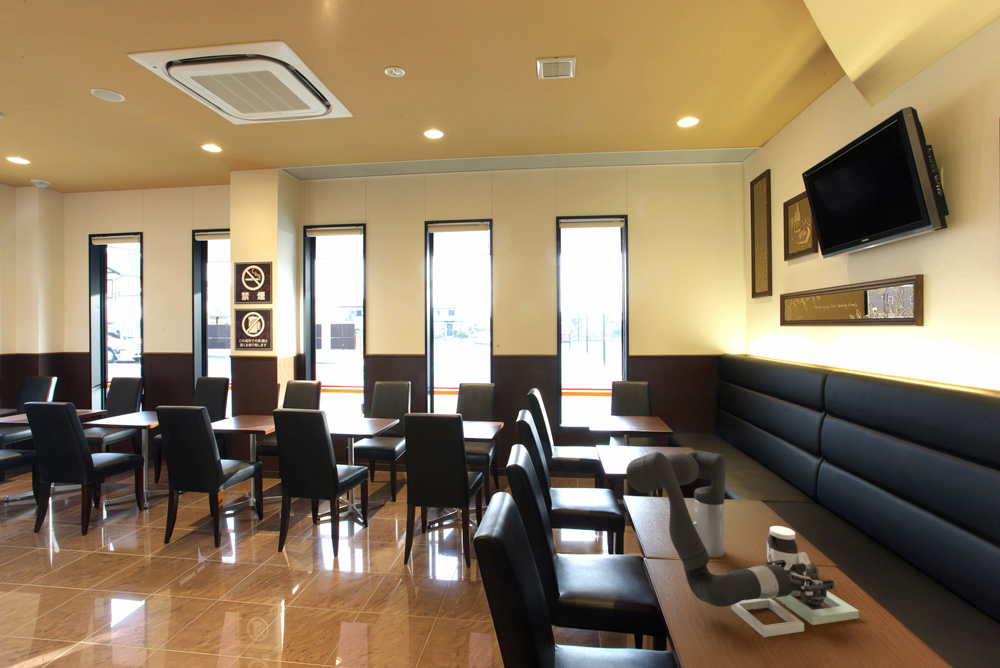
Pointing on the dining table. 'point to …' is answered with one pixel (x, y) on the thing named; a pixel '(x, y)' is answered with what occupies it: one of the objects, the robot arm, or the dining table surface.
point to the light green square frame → (821, 616)
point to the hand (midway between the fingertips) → (818, 575)
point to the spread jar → (784, 546)
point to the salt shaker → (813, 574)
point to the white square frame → (773, 629)
